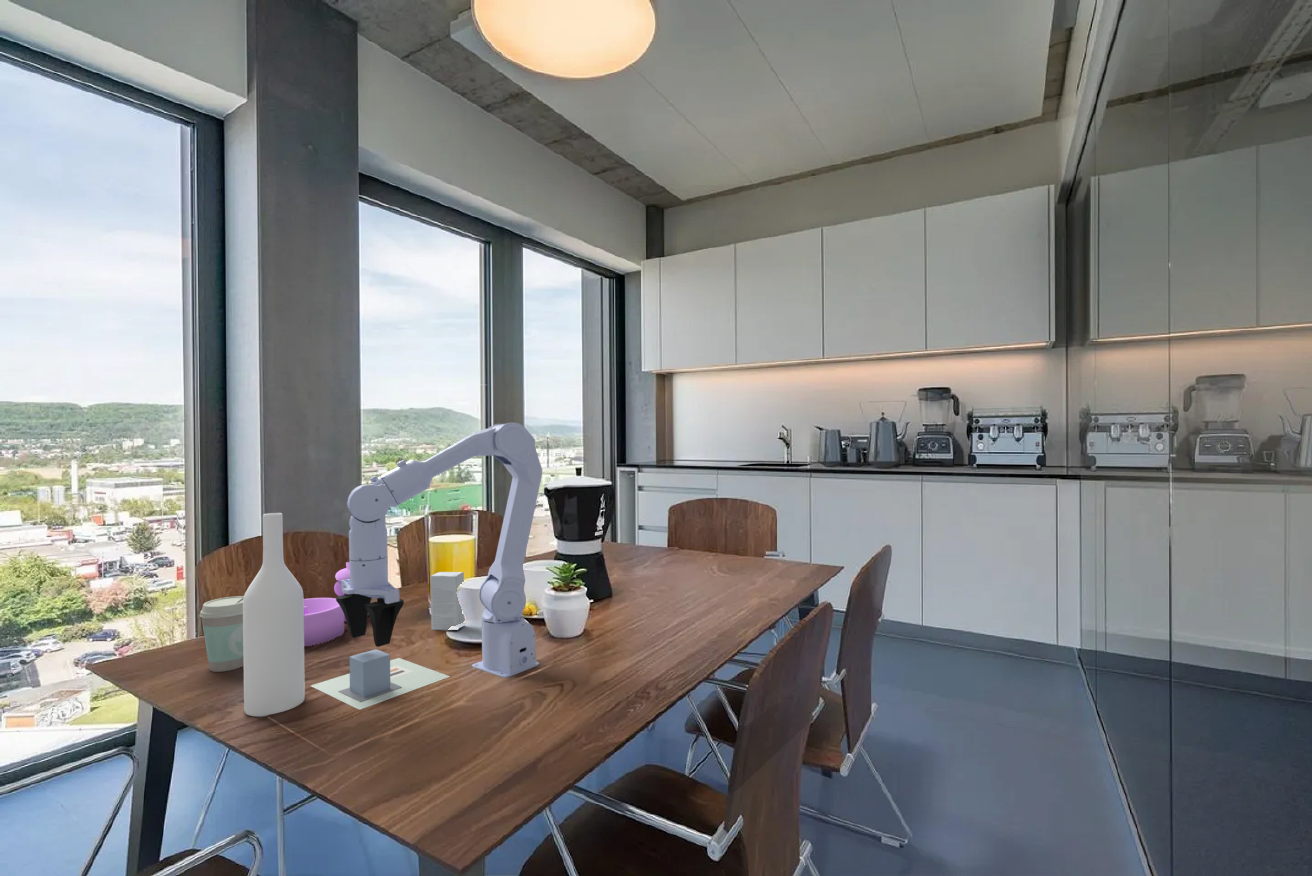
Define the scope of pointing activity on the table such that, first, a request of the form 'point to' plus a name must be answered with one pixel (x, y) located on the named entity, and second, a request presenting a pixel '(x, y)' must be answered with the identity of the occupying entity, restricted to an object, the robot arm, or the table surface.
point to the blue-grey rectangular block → (369, 672)
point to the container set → (325, 614)
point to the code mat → (401, 681)
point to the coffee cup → (223, 633)
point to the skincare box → (445, 600)
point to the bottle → (273, 631)
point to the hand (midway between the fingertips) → (370, 640)
